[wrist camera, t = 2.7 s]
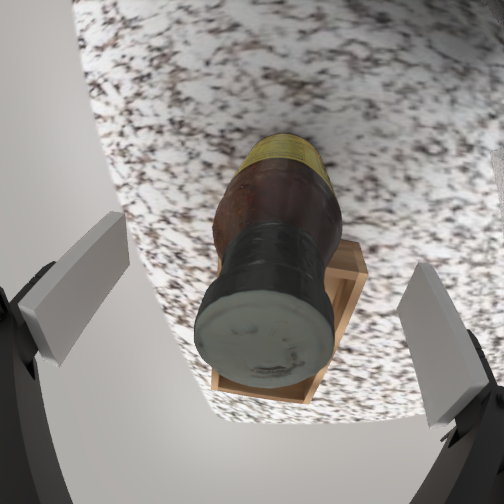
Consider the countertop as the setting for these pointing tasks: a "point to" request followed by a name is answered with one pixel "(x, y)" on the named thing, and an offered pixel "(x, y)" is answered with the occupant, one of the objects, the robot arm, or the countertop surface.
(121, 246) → the robot arm
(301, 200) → the sauce bottle
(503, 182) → the grater
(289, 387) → the caddy
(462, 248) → the countertop surface
